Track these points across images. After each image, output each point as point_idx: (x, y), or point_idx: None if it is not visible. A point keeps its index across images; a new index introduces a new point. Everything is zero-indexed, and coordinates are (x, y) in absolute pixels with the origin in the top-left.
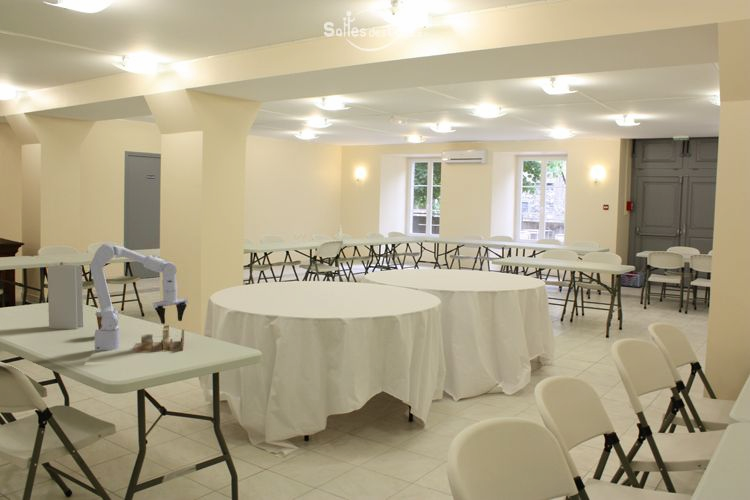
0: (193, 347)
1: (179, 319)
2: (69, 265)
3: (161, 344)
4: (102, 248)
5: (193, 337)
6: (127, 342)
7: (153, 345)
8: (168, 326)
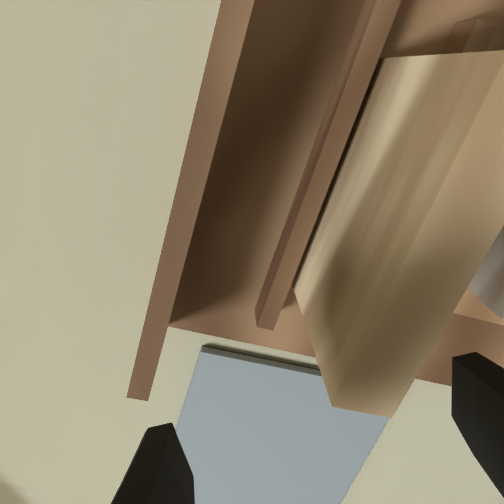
0: (97, 111)
1: (178, 463)
2: None
3: None
4: None
5: (52, 451)
6: (482, 470)
7: None
8: (371, 332)
